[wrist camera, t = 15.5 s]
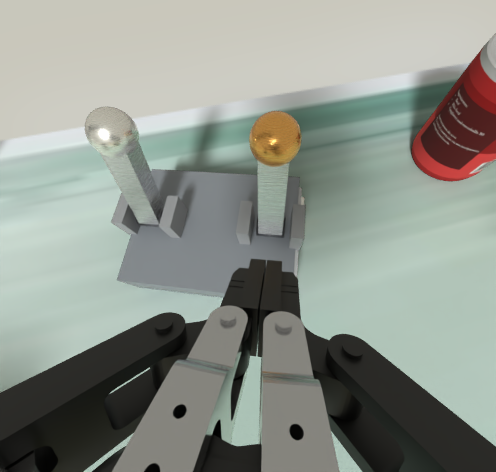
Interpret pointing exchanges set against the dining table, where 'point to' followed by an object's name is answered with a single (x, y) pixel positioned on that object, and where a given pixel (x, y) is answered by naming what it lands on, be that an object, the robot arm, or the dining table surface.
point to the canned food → (462, 124)
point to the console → (205, 233)
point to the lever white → (125, 162)
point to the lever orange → (273, 167)
